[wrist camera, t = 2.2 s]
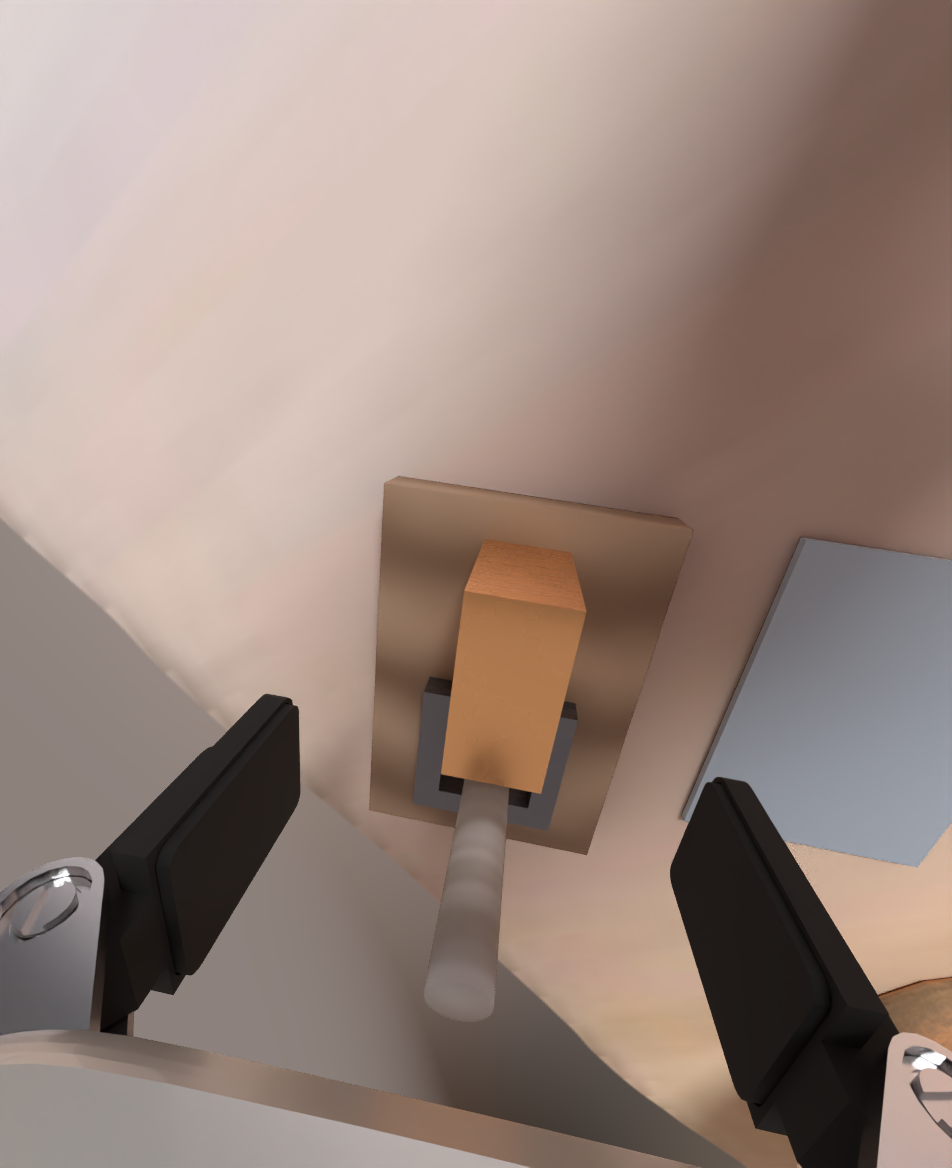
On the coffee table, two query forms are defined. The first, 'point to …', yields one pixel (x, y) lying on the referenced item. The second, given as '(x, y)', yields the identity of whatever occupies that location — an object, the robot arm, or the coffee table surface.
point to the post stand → (428, 649)
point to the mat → (848, 705)
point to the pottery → (923, 1009)
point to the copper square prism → (506, 685)
